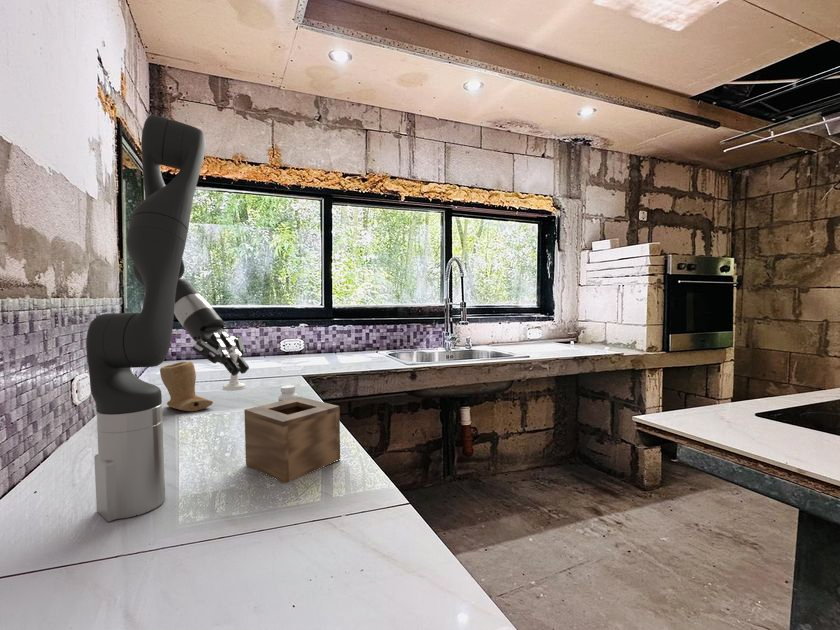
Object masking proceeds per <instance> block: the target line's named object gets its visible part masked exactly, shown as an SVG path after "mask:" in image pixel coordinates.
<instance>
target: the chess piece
mask: <svg viewBox="0 0 840 630" xmlns="http://www.w3.org/2000/svg"><path fill="white" fill-rule="evenodd" d="M230 350H232V353H230V354H229V355H230V358H231V357H232V359H233V360H234V361H235V362H236V361H237V357H238V353H236V352H235V350H237V347H236V348H235V345H232V348H230ZM236 364H237V365H239V363H236ZM246 386H247V385H246V383H243V382H240V380H239V378H238V374H237V375H234V376H233V375H232V374H231V373H230V379H229V381H228V383H226V384H223V386H222V390H223V391H227V392H230V391H231V392H233V391H241V390H245V389H246V388H247V387H246Z"/></svg>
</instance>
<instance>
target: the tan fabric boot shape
mask: <svg viewBox="0 0 840 630" xmlns="http://www.w3.org/2000/svg"><path fill="white" fill-rule="evenodd" d="M159 373H160V374H159V375H160V378H161V381H162V383H163V384H164V387H165V388H166V390H167V393H168V394H169V397H170V399H169V400H168V401H167V402H166V405H167V406H168V407H169V408H172V409H177V410H179V411H185V412H196V411H201V410H203V409H206V408H208V407H210V406H212V405H213V404H214V401H213V400H210V399H208V398H204V397H200V396H198V395H197V394H196V388H195V387H196V378H197V374H196V368H195V364H194V363H193V362H192V361H191V360H189V361H180V362H175V363H172V364H167V365H164V366H162V367H160V369H159Z"/></svg>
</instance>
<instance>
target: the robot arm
mask: <svg viewBox="0 0 840 630" xmlns="http://www.w3.org/2000/svg"><path fill="white" fill-rule="evenodd" d="M206 140H207V139H206V136H205V133H204V132H203V131H202V130H201V129H200V128H198V127H195V126H192V125H190V124H187V123H184V122H180V121H178V120H174V119H171V118H167V117H164V116H162V115H161V116H160V115H158V114H157V115H156V114H150V115H148V117H146V119H145V121H144V123H143V127H142V131H141V142H140V143H141V146H140V147H141V148H140V149H141V164H142V177H143V179H142V180H143V189H144V197H145V199H143V200H142V201H141V202H140V203H138V205H137V206H136V207H135V208H134V210H133V213H132V216H131V219H130V224H129V227H128V231H127V235H126V242H125V243H126V248H127V251H128V254H129V257H130V258H131V261H132V262H133V266H132V270H133V275H134V277H135V279H136V280H137V281H138V282H139V284H141V285H142V287H143V288H144V299H143V300H144V301H143V305H142V309H141V312H119V313H117V312H115V313H113V312H111V313H108V312H107V313H102V314H99V315H97V316H96V317H95V318H94V319H93V320H92V321H90V322H91V323H90V325H89V326H88V329H87V332H86V339H85V346H86V347H85V348H86V349H85V351H86V360H87V365H88V366H87V367H88V374H89V375H88V376H89V387H90V392H91V396H92V398H93V400H94V402H95V409H96V429H97V430H96V431H97V432H96V433H97V434H96V435H97V447H98V448H97V451H98V453H97V454H95V455H94V456H93V457H94V461H93V462H94V478H95V479H94V480H95V501H96V503H95V504H96V505H95V506H96V511H97V512H98V513H99V514H100V515H101V516H102V518H104V520H106V522H112V521H115V520H118V519H119V520H121V519H127V518H132V517H136V515H137V516H141V515H143V514H145V513H147V512H150V511H153V510H155V509H156V508H158V507H159V506H160V505H162V504H163V503H164V502H165V500H166V481H165V480H166V479H165V453H164V452H165V449H164V429H163V428H164V427H163V426H164V424H163V423H164V422H163V403H162V402H163V400H162V398H163V397H162V396H163V395H162V390H161V388H160V387H158V386H157V385H155V384H152V383H149V382H147V381H144V380H142V379H140V378H139V377H137V376H136V375H135V374H134V373H133V372H132V369H131V368H137V369H138V368H153V367H158V366H159V365H161V364H163V362H164V361H165V360H166V359H167V356H168V354H169V350H170V348H171V343H172V336H173V329H174V316H175V318H176V319H177V320H178V322H179V323H180V324H181V326H182V327H183V328H184V330H185V331H186V332H187V334H188V335H189V336H190V338H191V339H192V340H193V341H194V342H195V343H194V344H193V345H192V347H191V349H192V350H193V351H194V352H196V353H197V354H198V355H200V356H202V357H203V358H204V359H206V360H208V361H210V362H211V363H212V364H217V363H219V364H221V365H223V366H224V367H225V369H226V370H227V371H228V373H229V374H230V375H231V374H232V375H233V376H234V375H237V376H238V374H239V373H240V374H242V375H243V374H245V373H247V372H248V370H249V369H250V366H249V364H248V363H247V362H246V361H245V359H244V358H243V357H242V356H243V355H244V354H245V353H246V350H245V346H244V342H243V338H242V336H241V335H239V334H237V335H236V336H234V335H233V336H232V335H231V333H229V332H228V331H227V330H226V329H225V327H224V326H225V325H224V324H225V323H224V321H223V319H222V318H221V316H219V314H218V313H217V312H216V310H215V309H214V308H213V307H212V305H211V304H210V303H209V301H207V300H206V299H205V298H204V297H203V296H202V295H201V294H200V292H199V291H198V290H197V289H196V288H195V286H194V285H193V284H192V283H191V282H190V281H189V280H186V279H183V278H182V277H183V276H184V273H185V272H186V271H185V269H186V267H185V264H184V263H185V262H184V259H183V257H184V252H185V248H186V243H187V239H188V235H189V234H188V233H189V228H190V227H189V226H190V220H191V213H192V206H193V200H194V196H195V192H196V188H197V185H198V181H199V178H200V174H201V169H202V167H203V162H204V160H205V159H204V158H205V154H206V149H207V141H206ZM161 166H164V167H168V168H171V169H176V170H178V172H177V173H176V175H175V176H174V178H173V179H172V180H170V182H168V183H167V184H165V181H164V178H163V175H162V170H161ZM232 345H235V348H236V347H237V350H235V352H236V353H238V357H237V361H236V362H235V361H234V360H233V359H232V357H231V358H230V355H229V354H230V353H232V350H230V348H232ZM236 363H239V365H237V364H236Z"/></svg>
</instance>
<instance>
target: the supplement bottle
mask: <svg viewBox="0 0 840 630" xmlns="http://www.w3.org/2000/svg"><path fill="white" fill-rule="evenodd" d="M297 397H299V395H298V393H296V386H295V385H293V384H289V385H288V384H287V385H282V386H281V387H280V394H279V395H278V402H279V401H284V400H288V399H292V398H297Z"/></svg>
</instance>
